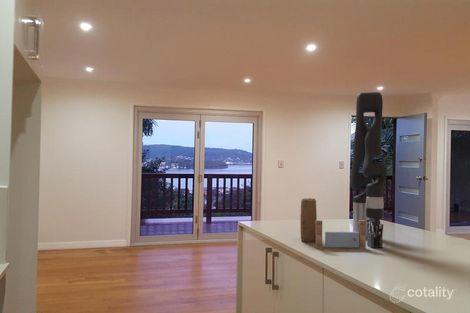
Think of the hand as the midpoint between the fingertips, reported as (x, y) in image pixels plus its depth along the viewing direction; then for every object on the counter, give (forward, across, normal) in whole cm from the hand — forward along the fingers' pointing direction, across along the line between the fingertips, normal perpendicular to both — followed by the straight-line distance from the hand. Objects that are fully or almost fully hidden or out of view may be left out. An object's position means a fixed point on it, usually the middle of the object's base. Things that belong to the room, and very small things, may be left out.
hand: (374, 244), depth 173 cm
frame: (+1, -4, +16) cm, 16 cm away
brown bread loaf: (+1, +14, +27) cm, 30 cm away
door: (0, -4, +16) cm, 16 cm away
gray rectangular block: (+1, 0, 0) cm, 1 cm away
